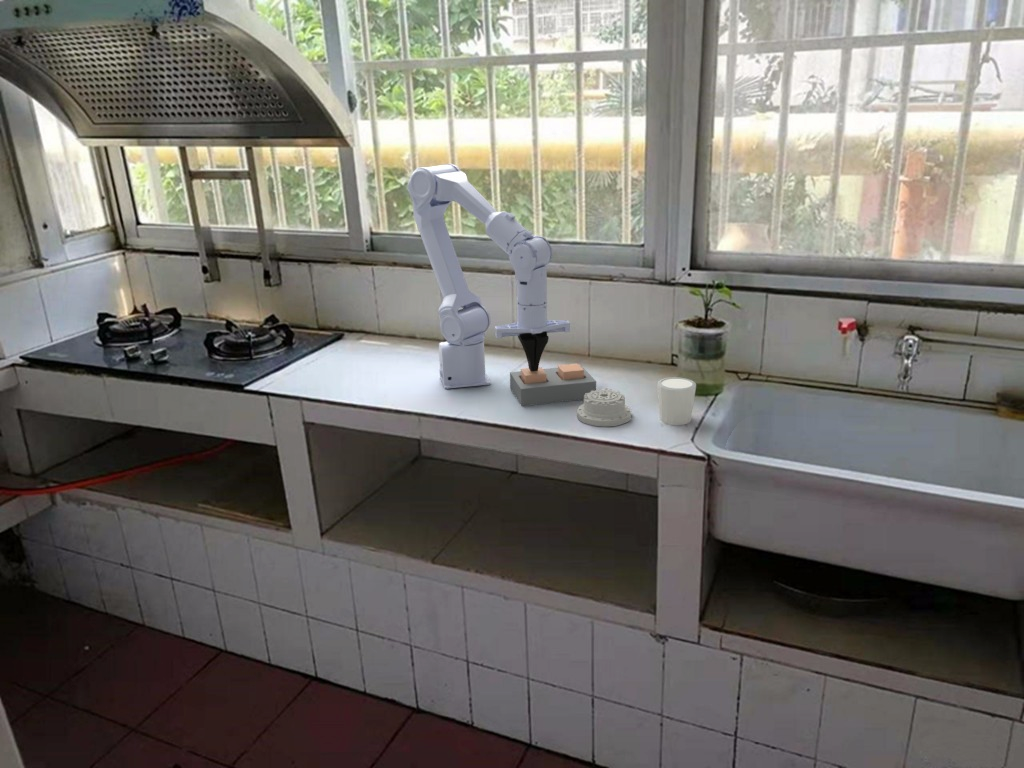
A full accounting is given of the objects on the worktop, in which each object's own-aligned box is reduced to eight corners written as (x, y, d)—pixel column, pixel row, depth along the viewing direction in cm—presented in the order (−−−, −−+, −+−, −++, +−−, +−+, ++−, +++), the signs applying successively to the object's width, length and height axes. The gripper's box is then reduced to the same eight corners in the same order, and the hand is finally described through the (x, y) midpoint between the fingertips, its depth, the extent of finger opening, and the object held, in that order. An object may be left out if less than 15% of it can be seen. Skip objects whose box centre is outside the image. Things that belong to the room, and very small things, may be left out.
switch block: (521, 406, 153) (520, 388, 151) (510, 388, 162) (509, 372, 161) (596, 398, 156) (596, 381, 154) (581, 381, 165) (581, 365, 164)
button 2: (563, 387, 156) (563, 372, 155) (557, 380, 160) (557, 365, 159) (583, 385, 157) (583, 370, 156) (577, 378, 161) (577, 363, 160)
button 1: (525, 391, 155) (525, 375, 154) (521, 384, 159) (520, 369, 158) (546, 389, 156) (546, 373, 155) (541, 382, 160) (541, 367, 159)
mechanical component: (574, 427, 143) (630, 429, 141) (574, 404, 142) (630, 406, 140) (579, 406, 152) (632, 408, 151) (579, 385, 151) (632, 386, 149)
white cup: (699, 425, 142) (701, 388, 139) (661, 427, 141) (662, 390, 139) (688, 411, 148) (689, 375, 146) (651, 413, 148) (653, 377, 145)
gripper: (498, 310, 146) (501, 379, 151) (574, 304, 149) (574, 372, 154) (491, 301, 153) (494, 368, 158) (564, 295, 156) (564, 361, 160)
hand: (533, 369), depth 156 cm, fingers closed
